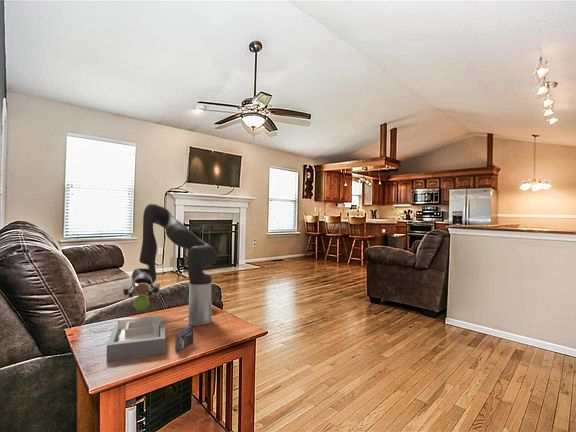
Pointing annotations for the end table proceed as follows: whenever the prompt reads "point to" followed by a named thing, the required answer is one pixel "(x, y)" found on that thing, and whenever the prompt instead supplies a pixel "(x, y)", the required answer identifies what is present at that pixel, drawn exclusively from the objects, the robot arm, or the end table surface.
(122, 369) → the end table surface
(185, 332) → the mini dv tape
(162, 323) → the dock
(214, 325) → the end table surface
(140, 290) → the snail figurine
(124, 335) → the tray
